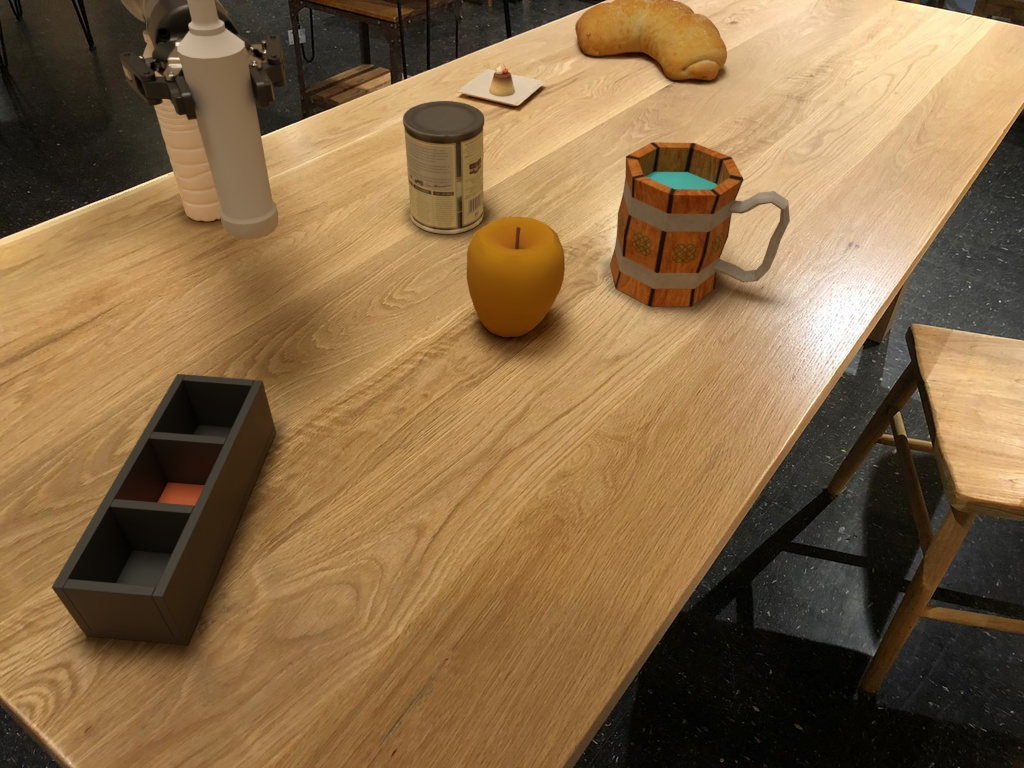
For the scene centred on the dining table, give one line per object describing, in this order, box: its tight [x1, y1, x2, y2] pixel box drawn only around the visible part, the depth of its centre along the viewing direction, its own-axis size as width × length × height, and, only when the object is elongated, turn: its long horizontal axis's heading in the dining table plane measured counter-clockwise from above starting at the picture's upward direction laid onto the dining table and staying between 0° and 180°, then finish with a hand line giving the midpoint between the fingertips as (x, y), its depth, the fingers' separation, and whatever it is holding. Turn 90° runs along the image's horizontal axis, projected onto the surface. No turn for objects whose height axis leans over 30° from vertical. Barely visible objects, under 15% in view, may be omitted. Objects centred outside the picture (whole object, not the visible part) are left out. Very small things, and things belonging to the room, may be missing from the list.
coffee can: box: [402, 100, 485, 235], centre depth 101 cm, size 10×10×14 cm
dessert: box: [456, 63, 547, 107], centre depth 136 cm, size 12×12×5 cm
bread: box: [574, 0, 728, 81], centre depth 150 cm, size 32×20×10 cm, turn 53°
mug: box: [609, 141, 791, 307], centre depth 91 cm, size 20×14×15 cm
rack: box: [51, 373, 277, 646], centre depth 65 cm, size 8×23×7 cm, turn 176°
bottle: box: [177, 0, 279, 241], centre depth 63 cm, size 5×5×25 cm
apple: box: [466, 216, 566, 338], centre depth 85 cm, size 11×11×13 cm
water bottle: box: [142, 29, 221, 222], centre depth 96 cm, size 9×6×25 cm
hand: (226, 102), depth 61 cm, fingers closed on bottle, 5 cm apart
